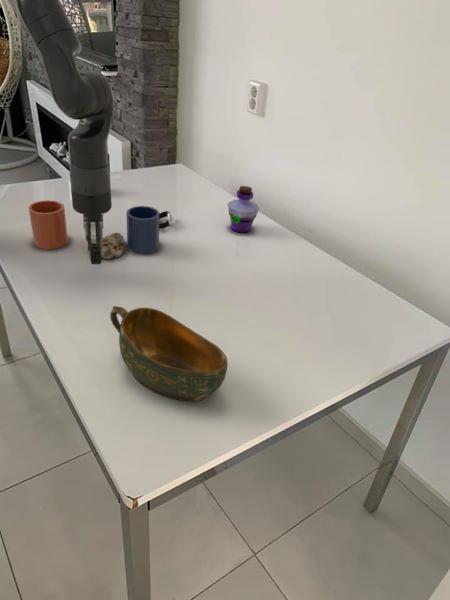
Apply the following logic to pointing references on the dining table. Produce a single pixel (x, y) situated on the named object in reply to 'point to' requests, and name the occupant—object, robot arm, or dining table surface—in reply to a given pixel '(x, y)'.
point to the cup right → (143, 229)
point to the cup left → (48, 224)
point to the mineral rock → (112, 246)
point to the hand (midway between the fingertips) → (96, 262)
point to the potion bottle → (242, 210)
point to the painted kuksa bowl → (168, 354)
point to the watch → (168, 222)
